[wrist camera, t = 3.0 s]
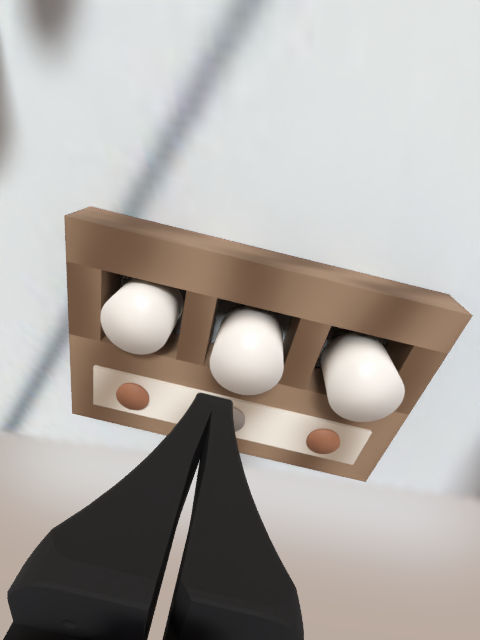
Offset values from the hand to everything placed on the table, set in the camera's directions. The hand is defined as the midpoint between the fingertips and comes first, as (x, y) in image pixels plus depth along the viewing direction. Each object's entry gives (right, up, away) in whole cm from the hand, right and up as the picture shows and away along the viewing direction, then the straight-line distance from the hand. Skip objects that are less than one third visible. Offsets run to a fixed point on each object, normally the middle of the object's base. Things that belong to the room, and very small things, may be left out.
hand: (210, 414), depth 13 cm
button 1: (-4, +5, +7) cm, 9 cm away
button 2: (+8, +1, +6) cm, 10 cm away
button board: (+1, +2, +8) cm, 9 cm away
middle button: (+2, +3, +6) cm, 7 cm away
